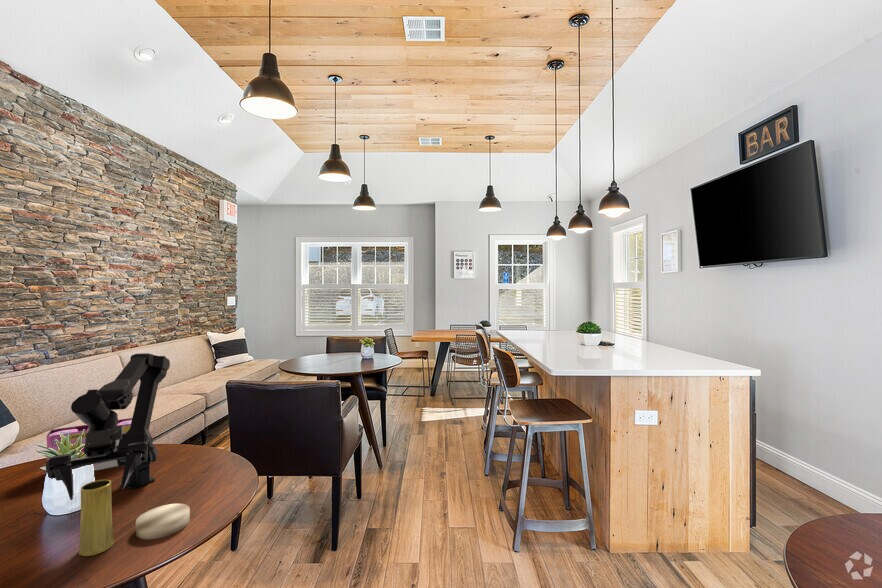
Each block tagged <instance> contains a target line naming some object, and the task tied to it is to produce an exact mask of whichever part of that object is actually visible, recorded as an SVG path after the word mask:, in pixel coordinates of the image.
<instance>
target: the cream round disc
mask: <svg viewBox="0 0 882 588" xmlns="http://www.w3.org/2000/svg"><path fill="white" fill-rule="evenodd" d="M190 510H191V508H190V506H189V505H187V504H186V503H170V504H169V503H168V504H165V505H164V504H163V505H160V506H157V507H154V508H152V509H149V510H146V512H144V513H141V514H140V515H139V516H138V517H137V518H136V520H135V536H136V537H137V538H138V539H141V540H156V539H162V538H166V537H168V536H171V535H173V534H176V533H177V532H179V531H181V530H184V528H186V527H187V526H188V525H189V523H190V521H191V520H190V519H191V518H190V517H191V515H190V514H191V513H190V512H191V511H190Z"/></svg>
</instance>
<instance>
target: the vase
mask: <svg viewBox="0 0 882 588" xmlns="http://www.w3.org/2000/svg"><path fill="white" fill-rule="evenodd" d="M112 501H113V500H112V480H110V479H99V480H94V481H91V482H88V483H86V484H84V485H83V486H81V487H80V518H79V520H80V521H79V545H78V546H79V547H78V548H79V549H78V555H79V556H81V557H92V556H96V555H99V554H101V553H104V552H107V550H109V549H111V547H113V545H114V543H115V541H114V532H113V530H114V529H113V512H112V511H113V508H112Z"/></svg>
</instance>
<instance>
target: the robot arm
mask: <svg viewBox="0 0 882 588" xmlns="http://www.w3.org/2000/svg"><path fill="white" fill-rule="evenodd" d="M170 367H171V362H170V359H169V358H167V357H166V356H165V355H155V354H153V353H149V352H146V353H145V352H142V353H135V354H131V356H130V358H129V361H128V362H127V363H126V365H125V366H124V367H123V369H122V370H121V371H120V373H119V374H118V375H117V376H116V378H115V379H114V380H113V381H111V382H108V383H106V384H104V385H102V387H101V388H100V389H99V388H98V389H97V388H96V389H88V390H87V392H86V393H85V394H81V396H78V397H77V398H76V399H75V400H73V401H72V403H71V405H70V410H71V411H72V413H73V414H74V415H75V416H76V417H77V418H78V419H79V420H80V421H81V422H82V423H83V425H89V427H88V433H86V436H85V446H84V454H86V456H85V457H82V458H76V459H71V455H70V454H65V455H59V456H53V457H50V458H49V459H48V460H47V459H46V462H45V463H46V464H45V470H46V475H47V474H48V477H49V478H51V479H50V480H53V478H54V479H55V480H56V481H59V482H60V481H62V483H63V484H64V486H65V487H66V491H67V494H68V497H69V499H70V500H69V501H72V500H73V499H74V493H75V491H74V475H73V474H72V468H74V467H80V466H85V465H91V464H96V463H102V462H107V461H113V460H117V463H118V466H117V467H124V468H123V473H122V478H121V482H120V486H121V490H124V489H125V487H126V488H129V489H130V490H132V489H136V488H138V487H141V486H144V485H146V484H149V483H152V482H155V481H156V478H155V477H152V476H151V470H150V469H151V465H150V464H152V463H154V462H157V458H158V456H159V454H158V452H159V451H158V449H157V448H156V446H155V445H154V443H153V441H154V438H153V436H152V434H151V432H150V425H151V422H152V421H151V420H152V417H153V411H154V405H155V401H156V396H157V392H158V387H159V385H160V383H161V382H162V381H164V379H165V378H166V376H167V373H168V370H169V368H170ZM139 381H140V383H139V387H138V392H137V396H136V400H135V406H134V410H133V414H132V417H131V418H132V421H131V426H130V429H129V430H128V431H127V432H126V433H125V434H122V425H119V426H117V423H118V422H119V421H118V420H119V418H118V413H117V412H116V411H118V410H119V411H121V410H126V409H127V408H128V407H129V406H130V404H131V403H132V400H133V397H134V396H133V395H134V394H133V389H134V387H135V386H136V385H137V383H138V382H139ZM116 440H119V444H118V447H117V449H116ZM88 443H89V444H88Z"/></svg>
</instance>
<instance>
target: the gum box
mask: <svg viewBox="0 0 882 588" xmlns="http://www.w3.org/2000/svg"><path fill="white" fill-rule="evenodd" d="M118 421H119V422H118V423H117V426H119V425H122V434H125V433H126V432H127V431H128V430H129V429H130V426H131V421H132V417H128V418H122V419H118ZM88 427H89V425H87V424H82V425H75V426H67V427H61V428H54V429H50V431H49V432H48V433H47V435H46V436H45V437H46V449H47V448H49V447H50V448H53V449H55V450H56V451H57V450H58V446H57V444H56V441H55V439H57V440H58V441H59V442H61V437H60V435H59V434H60V433H61V434H63V435H64V436H67V435H68V433H70V442H71V444H74V443H75V442H76V440H77V438H78V437H79V436H80V435H81V433H82V431H83V429H85V430H84V433H83V435H82V444H85V436H86V433H88ZM118 444H119V440H116V449H117V447H118ZM81 451H82V452H84V448H83V449H82V450H81ZM48 459H49V458H48V457H47V456H46V461H47V460H48ZM94 467H95V471H100V470H105V469H110V468H116V467H119V466H118V463H117V460H113V461H107V462H102V463H96V464H94Z"/></svg>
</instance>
